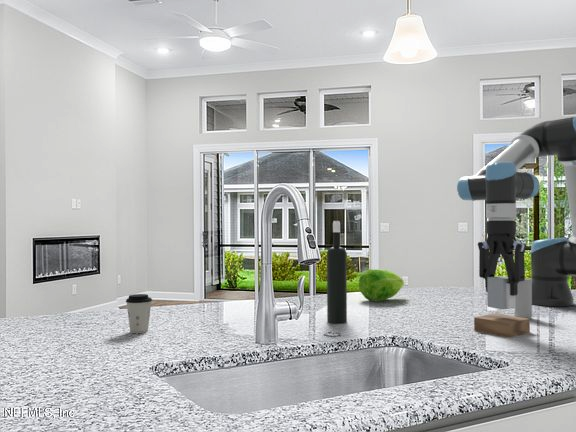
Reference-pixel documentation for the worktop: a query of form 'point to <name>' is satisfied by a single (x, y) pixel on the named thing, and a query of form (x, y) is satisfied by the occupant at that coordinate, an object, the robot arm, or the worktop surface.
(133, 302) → the coffee cup
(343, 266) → the wine bottle
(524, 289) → the beverage can
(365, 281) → the lettuce
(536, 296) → the robot arm
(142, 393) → the worktop surface
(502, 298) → the slate block
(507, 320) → the walnut block
